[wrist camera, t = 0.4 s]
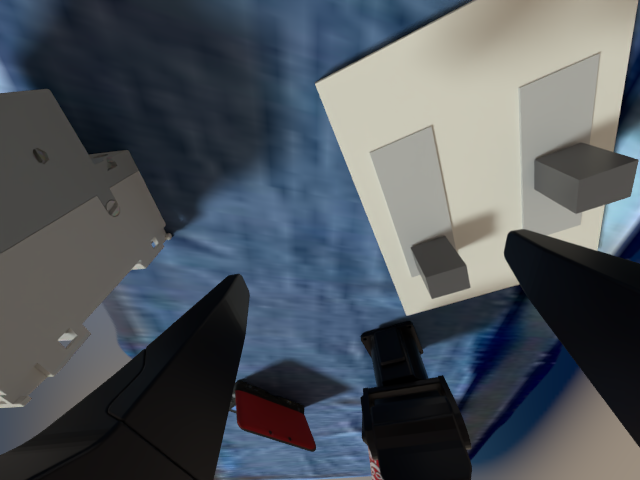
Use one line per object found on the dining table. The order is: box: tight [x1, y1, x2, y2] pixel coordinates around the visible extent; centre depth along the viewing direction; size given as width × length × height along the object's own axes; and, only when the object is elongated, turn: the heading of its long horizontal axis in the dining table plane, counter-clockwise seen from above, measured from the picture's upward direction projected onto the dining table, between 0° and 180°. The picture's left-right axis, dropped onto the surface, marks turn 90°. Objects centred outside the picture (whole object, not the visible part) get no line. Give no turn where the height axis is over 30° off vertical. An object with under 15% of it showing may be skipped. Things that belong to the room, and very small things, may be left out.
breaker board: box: [315, 0, 638, 316], centre depth 22 cm, size 24×18×2 cm
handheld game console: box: [229, 381, 316, 452], centre depth 39 cm, size 12×11×7 cm
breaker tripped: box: [534, 142, 638, 214], centre depth 18 cm, size 2×3×4 cm
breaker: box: [411, 236, 471, 299], centre depth 22 cm, size 2×3×4 cm
